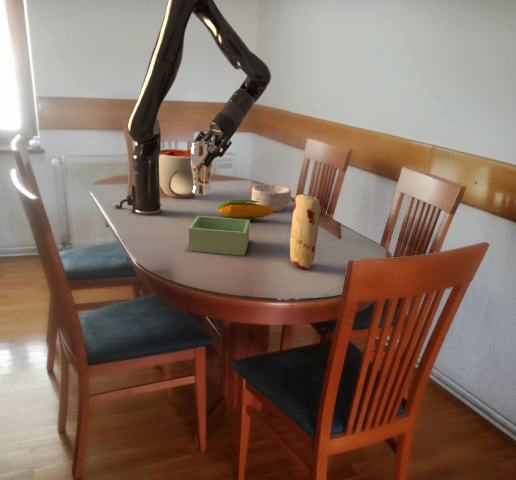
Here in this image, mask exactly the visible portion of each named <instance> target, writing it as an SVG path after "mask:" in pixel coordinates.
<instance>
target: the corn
mask: <svg viewBox="0 0 516 480" xmlns="http://www.w3.org/2000/svg"><path fill="white" fill-rule="evenodd" d="M254 202H259V201H254V200H252V199H229V200H226V201H223V202H222V203H221V204H220V206H219V207H218V213H219V215H220V216H221V218H231V219H243V220H250V222H252V221H256V220H257V219H261V218H264V217H268V216H271V215H272V214H273V213H274V211H273V210H272V209H270V208H269V207H268V206H264V205H259V204H256V203H254Z"/></svg>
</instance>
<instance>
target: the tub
mask: <svg viewBox="0 0 516 480" xmlns="http://www.w3.org/2000/svg"><path fill="white" fill-rule="evenodd" d="M250 224H251V221H250V220H243V219H231V218H224V217H217V216H206V215H197V216H196V217H195V219H193V221H192V223H191V225H190V226H189V227H188V251H189V252H199V253H211V254H223V255H234V256H235V255H236V256H245V255H246V252H247V249H248V245H249V242H250Z"/></svg>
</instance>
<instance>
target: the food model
mask: <svg viewBox="0 0 516 480" xmlns="http://www.w3.org/2000/svg"><path fill="white" fill-rule="evenodd" d="M320 217H321V204H320V199H318V198H317V197H316V196H311V195H309V194H307V193H305V194H297V195H296V196H295V198H294V205H293V212H292V221H291V231H290V242H289V257H290V261H291V264H292V265H293V266H294V267H296V268H298V269H300V270H306V269H307V270H308V269H310V268H311V265H312V264H313V262H314V260H315V256H316V255H315V254H316V248H317V240H318V235H319V234H318V233H319V224H320Z"/></svg>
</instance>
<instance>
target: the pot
mask: <svg viewBox="0 0 516 480" xmlns="http://www.w3.org/2000/svg"><path fill="white" fill-rule="evenodd" d="M189 155H190V148H188V149H186V148H185V149H184V148H161V151H160V156H159V178H160V189H162V191H163V192H164V194H166V195H167V196H169V197H171V198H176V199H177V198H178V199H186V198H191V197H193V196H195V195H196V194H193V193H192V186H193V177H192V171H191V165H190V161H189V160H188V156H189Z"/></svg>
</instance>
